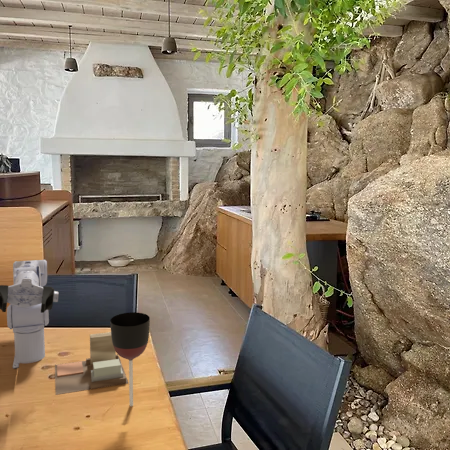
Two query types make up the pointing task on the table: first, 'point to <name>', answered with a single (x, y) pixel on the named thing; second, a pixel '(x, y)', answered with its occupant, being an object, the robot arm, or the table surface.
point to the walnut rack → (81, 377)
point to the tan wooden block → (101, 347)
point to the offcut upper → (106, 367)
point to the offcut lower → (106, 376)
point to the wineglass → (130, 339)
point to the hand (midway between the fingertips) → (23, 308)
